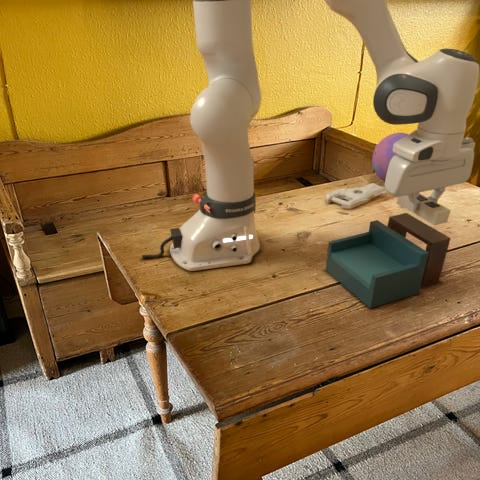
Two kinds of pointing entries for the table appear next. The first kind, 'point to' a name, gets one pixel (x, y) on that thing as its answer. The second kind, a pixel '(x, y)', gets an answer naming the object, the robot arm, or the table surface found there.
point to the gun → (355, 195)
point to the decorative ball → (385, 154)
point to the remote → (427, 209)
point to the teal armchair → (377, 265)
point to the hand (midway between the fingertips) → (421, 207)
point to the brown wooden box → (429, 236)
